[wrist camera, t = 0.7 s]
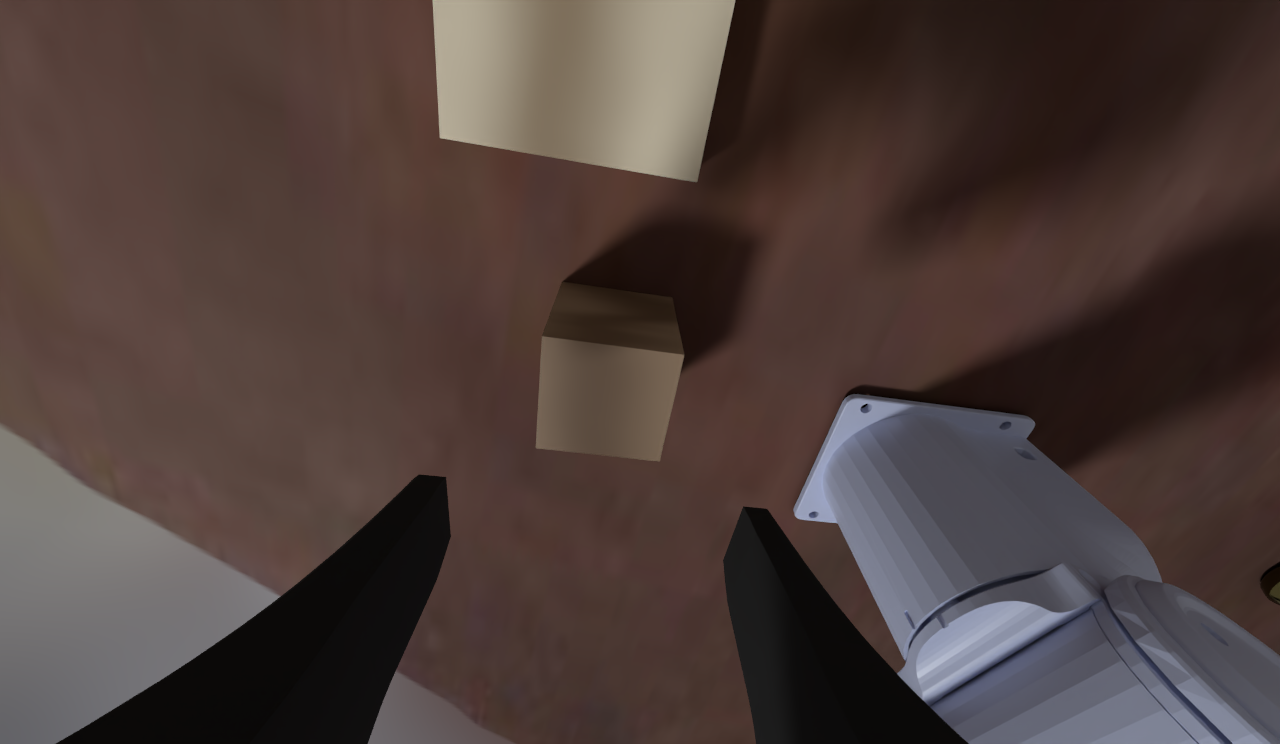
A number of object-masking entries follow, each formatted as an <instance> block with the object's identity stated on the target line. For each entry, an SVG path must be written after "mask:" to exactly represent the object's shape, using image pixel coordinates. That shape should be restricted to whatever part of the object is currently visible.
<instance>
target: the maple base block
mask: <svg viewBox="0 0 1280 744" xmlns="http://www.w3.org/2000/svg"><path fill="white" fill-rule="evenodd" d="M734 5H735V0H433V15H434V34H435V53H436V72H437V91H438V110H439V129H440V138H443V139H449V140H455V141H461V142H467V143H472V144H478V145H484V146H490V147H495V148H501V149H507V150H513V151H519V152H524V153H530V154H536V155H542V156H547V157H553V158H559V159H565V160H571V161H576V162H582V163H588V164H594V165H599V166H605V167H611V168H617V169H622V170H628V171H634V172H640V173H646V174H651V175H657V176H663V177H669V178H674V179H680V180H686V181H692V182H697V181H698V176H699V171H700V166H701V162H702V157H703V152H704V147H705V143H706V138H707V133H708V128H709V124H710V119H711V114H712V109H713V105H714V100H715V95H716V90H717V86H718V81H719V76H720V71H721V67H722V62H723V57H724V52H725V48H726V43H727V38H728V33H729V29H730V24H731V19H732V14H733V10H734Z"/></svg>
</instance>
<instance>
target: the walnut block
mask: <svg viewBox="0 0 1280 744" xmlns="http://www.w3.org/2000/svg"><path fill="white" fill-rule="evenodd" d="M683 359H684V350H683V346H682V341H681V336H680V331H679V327H678V322H677V317H676V312H675V308H674V303H673V298H672V297H667V296H660V295H653V294H646V293H639V292H632V291H625V290H618V289H611V288H604V287H597V286H590V285H583V284H576V283H569V282H562V284H561V286H560V289H559V292H558V294H557V297H556V300H555V302H554V305H553V308H552V311H551V313H550V316H549V319H548V321H547V324H546V327H545V330H544V332H543V335H542V346H541V364H540V382H539V400H538V418H537V435H536V448H539V449H549V450H558V451H567V452H576V453H586V454H595V455H604V456H613V457H623V458H632V459H641V460H650V461H660V457H661V453H662V449H663V444H664V440H665V436H666V432H667V427H668V423H669V419H670V414H671V410H672V406H673V402H674V397H675V393H676V389H677V385H678V380H679V376H680V372H681V368H682V363H683Z"/></svg>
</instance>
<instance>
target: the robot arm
mask: <svg viewBox="0 0 1280 744" xmlns="http://www.w3.org/2000/svg"><path fill="white" fill-rule="evenodd" d="M865 404H868V405H867V406H866V407H864V408H861V407H862V406H863V405H865ZM1002 423H1003V424H1002ZM1034 427H1035V422H1034V421H1033V420H1032V419H1031V418H1030V417H1028V416H1025V415H1018V414H1010V413H1002V412H994V411H986V410H978V409H971V408H963V407H955V406H947V405H939V404H931V403H924V402H916V401H908V400H900V399H892V398H884V397H877V396H869V395H861V394H852V395H849V396H847V397H846V398H845V399H844V400H843V402H842V404H841V406H840V408H839V411H838V413H837V415H836V417H835V419H834V421H833V424H832V426H831V428H830V430H829V432H828V435H827V437H826V439H825V441H824V443H823V445H822V448H821V450H820V452H819V454H818V456H817V459H816V461H815V463H814V465H813V467H812V469H811V472H810V474H809V476H808V478H807V480H806V483H805V485H804V487H803V489H802V491H801V493H800V496H799V498H798V500H797V502H796V504H795V506H794V510H793V511H794V513H795V516H796V517H797V518H798V519H801V520H811V521H821V522H831V523H838V525H839V527H840V529H841V531H842V533H843V535H844V537H845V539H846V541H847V543H848V545H849V547H850V549H851V551H852V553H853V555H854V557H855V559H856V561H857V564H858V566H859V568H860V570H861V572H862V574H863V576H864V578H865V580H866V582H867V584H868V586H869V588H870V590H871V592H872V594H873V596H874V598H875V600H876V602H877V605H878V607H879V609H880V611H881V613H882V615H883V617H884V619H885V621H886V623H887V625H888V627H889V629H890V631H891V633H892V635H893V637H894V639H895V641H896V643H897V645H898V648H899V650H900V652H901V654H902V656H903V658H904V660H905V662H906V664H905V666H904V667H903V668H902V669H901V671H899V672H898V673H896V672H895V671H894V670H893V669H892V668H891V667H890V666H889V665H888V664H887V663H886V661H885V660H884V659H883V658H882V657H881V656H880V655H879V654H878V653H877V652H876V651H875V650H874V648H873V647H872V646H871V645H870V644H869V643H868V642H867V641H866V639H865V638H864V637H863V636H862V635H861V634H860V632H859V631H858V630H857V629H856V628H855V626H854V625H853V624H852V623H851V622H850V620H849V619H848V618H847V617H846V616H845V614H844V613H843V612H842V611H841V609H840V608H839V607H838V606H837V604H836V603H835V602H834V601H833V599H832V598H831V597H830V595H829V594H828V593H827V591H826V590H825V589H824V588H823V586H822V585H821V584H820V582H819V581H818V580H817V578H816V577H815V576H814V574H813V573H812V572H811V570H810V569H809V567H808V566H807V565H806V563H805V562H804V561H803V559H802V558H801V556H800V555H799V554H798V552H797V551H796V549H795V548H794V547H793V545H792V544H791V542H790V541H789V539H788V538H787V537H786V535H785V534H784V532H783V531H782V529H781V528H780V527H779V525H778V524H777V522H776V521H775V519H774V518H773V517H772V515H771V514H770V512H769V511H768V510H767V509H762V508H752V507H743V509H742V512H741V514H740V517H739V520H738V522H737V525H736V528H735V530H734V533H733V536H732V538H731V541H730V544H729V546H728V549H727V552H726V554H725V557H724V560H723V562H724V573H725V584H726V593H727V601H728V606H729V611H730V616H731V621H732V625H733V630H734V634H735V639H736V644H737V648H738V652H739V657H740V661H741V666H742V670H743V675H744V679H745V684H746V688H747V693H748V697H749V702H750V707H751V713H752V718H753V724H754V731H755V738H756V744H1280V656H1279V655H1278V654H1277V653H1275V652H1274V651H1273V650H1272V649H1270V648H1269V647H1268V646H1266V645H1265V644H1264V643H1262V642H1261V641H1260V640H1258V639H1257V638H1256V637H1254V636H1253V635H1252V634H1250V633H1249V632H1247V631H1246V630H1245V629H1243V628H1242V627H1240V626H1239V625H1238V624H1236V623H1235V622H1233V621H1232V620H1231V619H1229V618H1228V617H1226V616H1225V615H1223V614H1222V613H1220V612H1219V611H1217V610H1216V609H1214V608H1213V607H1211V606H1210V605H1208V604H1207V603H1205V602H1203V601H1202V600H1200V599H1199V598H1197V597H1195V596H1193V595H1192V594H1190V593H1188V592H1186V591H1184V590H1182V589H1180V588H1178V587H1176V586H1173V585H1170V584H1167V583H1162V580H1161V577H1160V574H1159V571H1158V569H1157V567H1156V564H1155V562H1154V560H1153V558H1152V556H1151V555H1150V553H1149V551H1148V550H1147V548H1146V547H1145V545H1144V544H1143V543H1142V541H1141V540H1140V539H1139V538H1138V536H1137V535H1136V534H1135V533H1134V532H1133V531H1132V530H1131V529H1130V528H1129V527H1128V526H1127V525H1126V524H1125V523H1123V522H1122V521H1121V520H1120V519H1119V518H1118V517H1116V516H1115V515H1114V514H1113V513H1112V512H1111V511H1109V510H1108V509H1107V508H1106V507H1105V506H1104V505H1102V504H1101V503H1100V502H1099V501H1098V500H1097V499H1095V498H1094V497H1093V496H1092V495H1091V494H1090V493H1089V492H1087V491H1086V490H1085V489H1084V488H1083V487H1082V486H1080V485H1079V484H1078V483H1077V482H1076V481H1075V480H1073V479H1072V478H1071V477H1070V476H1069V475H1068V474H1066V473H1065V472H1064V471H1063V470H1062V469H1061V468H1059V467H1058V466H1057V465H1056V464H1055V463H1054V462H1053V461H1051V460H1050V459H1049V458H1048V457H1047V456H1046V455H1044V454H1043V453H1042V452H1041V451H1040V450H1039V449H1037V448H1036V447H1035V446H1034V445H1033V444H1032V443H1030V442H1029V441H1028V440H1027V439H1026V438H1027V437H1028V436H1029V434H1030V433H1031V432H1032V430H1033V429H1034ZM813 511H814V512H813ZM450 537H451V534H450V521H449V509H448V496H447V484H446V477H439V476H429V475H418V476H417V477H415V478H414V479H413V480H412V481H411V482H410V483H409V484H408V485H407V486H406V487H405V488H404V489H403V490H402V491H401V492H400V493H399V494H398V495H397V496H396V497H394V498H393V499H392V500H391V501H390V502H389V503H388V504H387V505H386V506H385V507H384V508H383V509H382V510H381V511H380V512H379V513H378V514H377V515H376V516H375V517H374V518H372V519H371V520H370V521H369V522H368V523H367V524H366V525H365V526H364V527H363V528H362V529H360V530H359V531H358V532H357V533H356V534H355V535H354V536H353V537H352V538H350V539H349V540H348V541H347V542H346V543H345V544H344V545H343V546H342V547H340V548H339V549H338V550H337V551H336V552H335V553H333V554H332V555H331V556H330V557H329V558H328V559H326V560H325V561H324V562H323V563H321V564H320V565H319V566H318V567H317V568H315V569H314V570H313V571H312V572H311V573H309V574H308V575H307V576H306V577H305V578H303V579H302V580H301V581H300V582H299V583H297V584H296V585H295V586H294V587H292V588H291V589H290V590H289V591H287V592H286V593H285V594H283V595H282V596H281V597H280V598H278V599H277V600H276V601H275V602H273V603H272V604H271V605H269V606H268V607H267V608H265V609H264V610H262V611H261V612H260V613H258V614H257V615H256V616H254V617H253V618H252V619H250V620H249V621H247V622H246V623H245V624H243V625H242V626H241V627H239V628H238V629H236V630H235V631H234V632H232V633H231V634H229V635H228V636H226V637H225V638H223V639H222V640H220V641H219V642H217V643H216V644H215V645H213V646H212V647H210V648H209V649H207V650H206V651H204V652H203V653H201V654H200V655H199V656H197V657H196V658H194V659H193V660H191V661H190V662H188V663H187V664H185V665H184V666H182V667H181V668H179V669H178V670H176V671H174V672H173V673H171V674H170V675H168V676H167V677H165V678H164V679H162V680H161V681H159V682H157V683H156V684H154V685H152V686H151V687H149V688H147V689H146V690H144V691H143V692H141V693H139V694H138V695H136V696H134V697H133V698H131V699H130V700H128V701H126V702H125V703H123V704H122V705H120V706H118V707H117V708H115V709H113V710H112V711H110V712H108V713H107V714H105V715H103V716H102V717H100V718H99V719H97V720H95V721H94V722H92V723H90V724H89V725H87V726H85V727H84V728H82V729H80V730H79V731H77V732H75V733H73V734H72V735H70V736H68V737H67V738H65V739H63V740H61V741H60V742H58V743H56V744H368V741H369V738H370V735H371V733H372V730H373V727H374V724H375V721H376V718H377V716H378V713H379V710H380V707H381V705H382V702H383V699H384V697H385V694H386V692H387V690H388V687H389V685H390V682H391V680H392V678H393V676H394V673H395V671H396V669H397V667H398V665H399V662H400V660H401V658H402V656H403V653H404V651H405V649H406V647H407V645H408V642H409V640H410V638H411V636H412V634H413V631H414V629H415V627H416V625H417V623H418V620H419V618H420V616H421V614H422V612H423V609H424V607H425V605H426V603H427V600H428V598H429V596H430V594H431V591H432V589H433V587H434V585H435V582H436V580H437V577H438V574H439V571H440V568H441V565H442V562H443V559H444V556H445V553H446V550H447V547H448V543H449V540H450Z"/></svg>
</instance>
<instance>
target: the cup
mask: <svg viewBox="0 0 1280 744" xmlns="http://www.w3.org/2000/svg"><path fill="white" fill-rule="evenodd" d="M1260 586H1261V589H1262V591H1263V592H1264V594H1265V595H1266V597H1267V598H1268V599H1269V600H1270V601H1272V602H1274V603H1276V604H1278V605H1280V566H1278V567H1276V568H1274V569H1272V570H1271V571H1269V572H1268V573H1267V574H1266V575H1265V576H1264V577H1263V579H1262V581H1261V583H1260Z"/></svg>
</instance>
